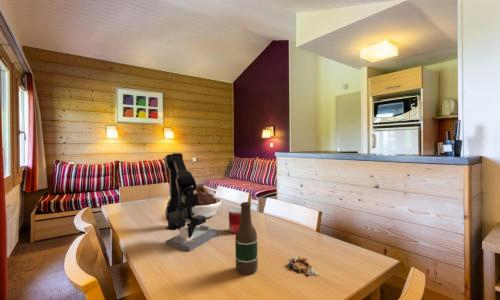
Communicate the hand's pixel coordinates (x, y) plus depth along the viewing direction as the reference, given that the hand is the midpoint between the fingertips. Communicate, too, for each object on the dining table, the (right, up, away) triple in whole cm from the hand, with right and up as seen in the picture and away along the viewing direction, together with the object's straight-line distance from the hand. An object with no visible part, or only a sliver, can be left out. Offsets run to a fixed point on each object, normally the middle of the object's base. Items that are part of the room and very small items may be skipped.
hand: (186, 236), depth 114 cm
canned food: (+22, -3, +14) cm, 27 cm away
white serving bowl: (-1, -2, +43) cm, 43 cm away
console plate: (+2, -3, +4) cm, 6 cm away
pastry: (+48, -4, -24) cm, 54 cm away
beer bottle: (+28, -4, -25) cm, 37 cm away
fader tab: (0, -1, 0) cm, 1 cm away
